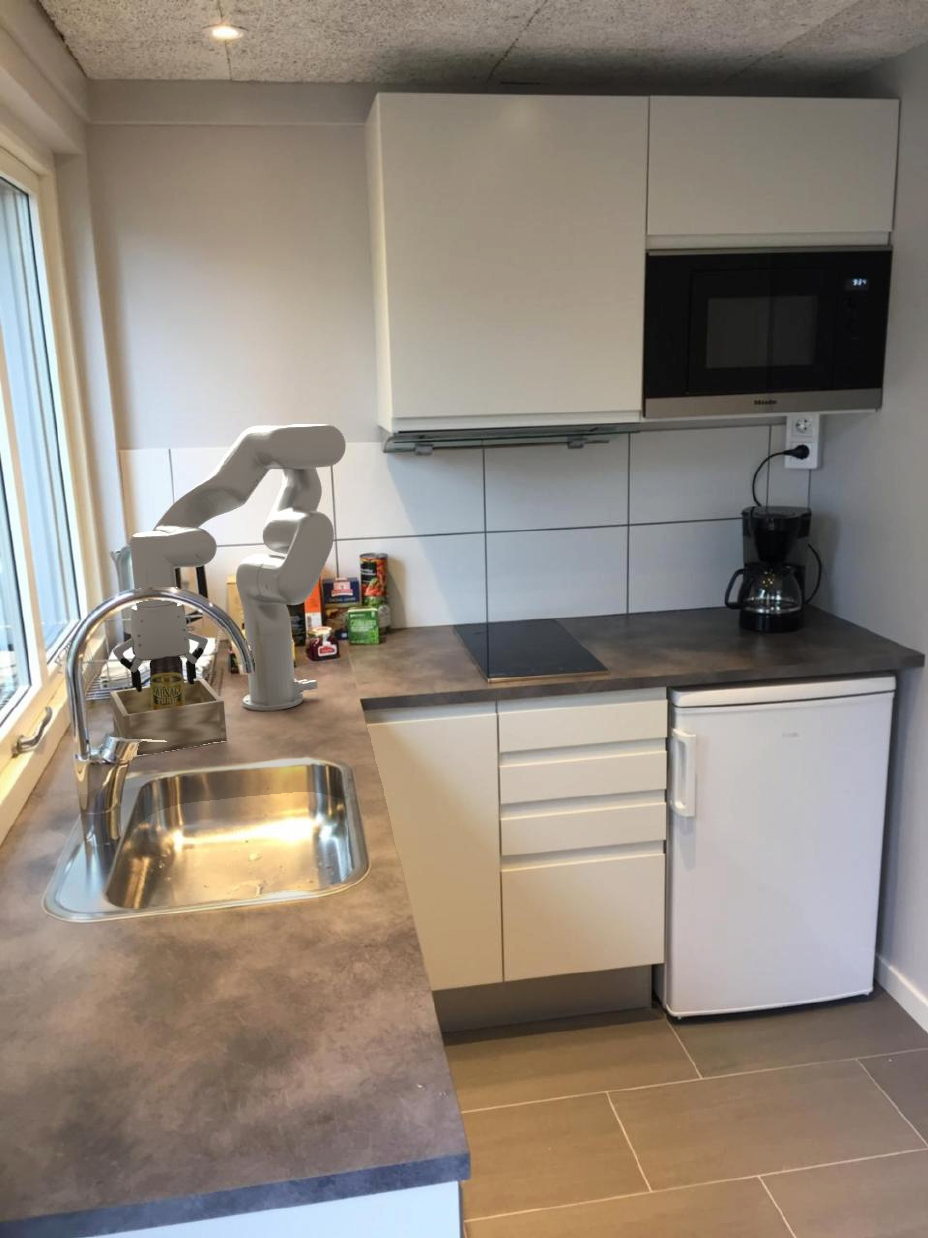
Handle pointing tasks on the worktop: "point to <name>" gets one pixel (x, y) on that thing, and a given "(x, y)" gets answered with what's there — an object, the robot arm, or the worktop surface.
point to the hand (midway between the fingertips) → (165, 686)
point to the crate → (170, 718)
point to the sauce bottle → (166, 683)
